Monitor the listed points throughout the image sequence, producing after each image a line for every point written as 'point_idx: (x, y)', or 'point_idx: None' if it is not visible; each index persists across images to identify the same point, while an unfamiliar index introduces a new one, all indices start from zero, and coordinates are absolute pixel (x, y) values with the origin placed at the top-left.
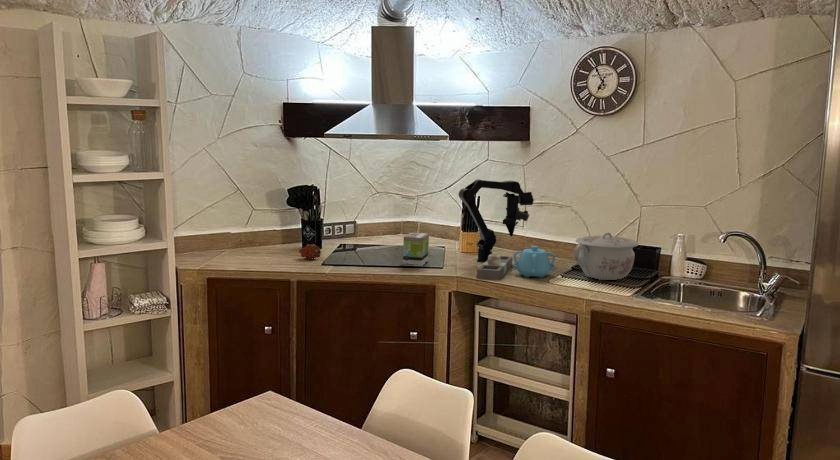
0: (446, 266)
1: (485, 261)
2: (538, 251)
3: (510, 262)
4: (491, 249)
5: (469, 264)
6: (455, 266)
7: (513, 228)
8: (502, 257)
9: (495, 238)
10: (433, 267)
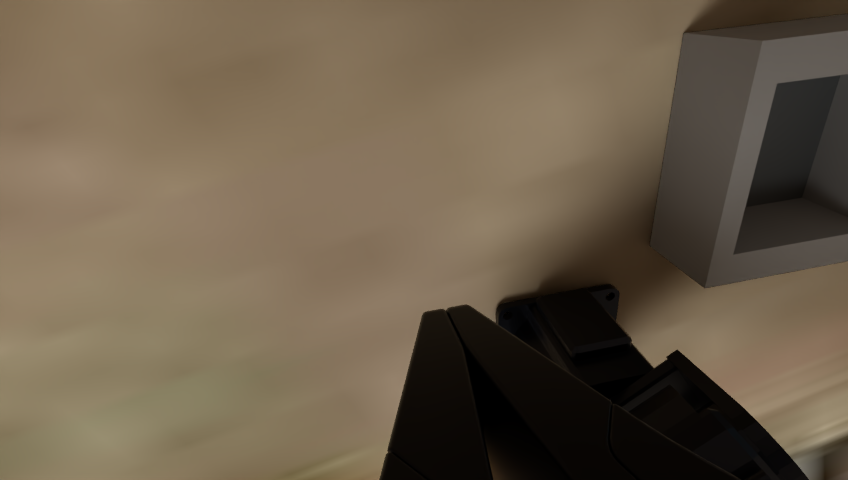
0: (797, 442)
1: (613, 315)
2: None
3: (845, 22)
4: (681, 356)
5: (722, 368)
6: (795, 406)
7: (703, 471)
8: (744, 166)
9: (759, 456)
10: (826, 475)
